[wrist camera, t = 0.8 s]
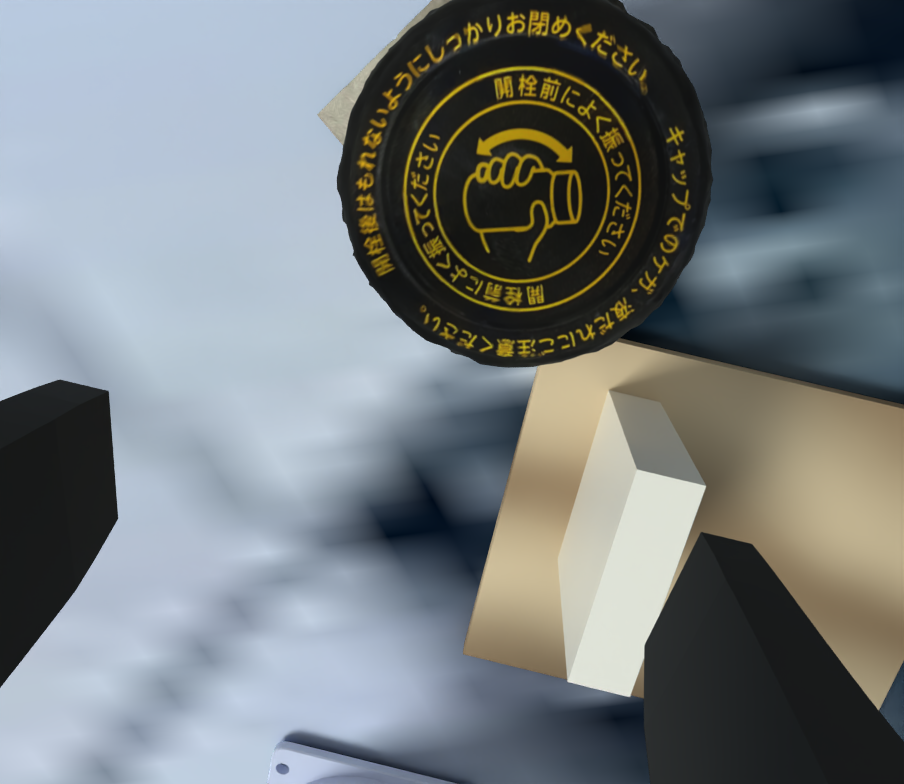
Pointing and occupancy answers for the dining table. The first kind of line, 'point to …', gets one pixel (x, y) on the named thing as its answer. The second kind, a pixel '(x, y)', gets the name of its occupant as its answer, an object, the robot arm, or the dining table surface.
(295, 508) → the dining table surface
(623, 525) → the block
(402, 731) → the dining table surface
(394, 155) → the condiment
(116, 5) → the dining table surface
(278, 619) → the dining table surface
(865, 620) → the mat
